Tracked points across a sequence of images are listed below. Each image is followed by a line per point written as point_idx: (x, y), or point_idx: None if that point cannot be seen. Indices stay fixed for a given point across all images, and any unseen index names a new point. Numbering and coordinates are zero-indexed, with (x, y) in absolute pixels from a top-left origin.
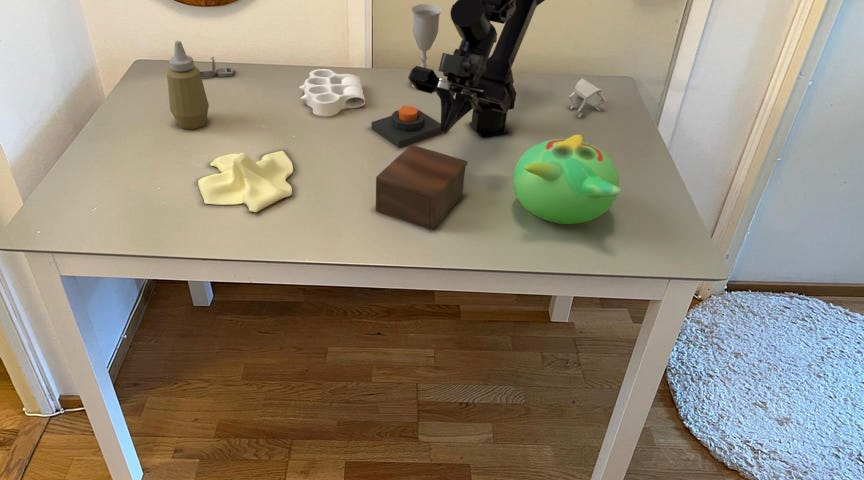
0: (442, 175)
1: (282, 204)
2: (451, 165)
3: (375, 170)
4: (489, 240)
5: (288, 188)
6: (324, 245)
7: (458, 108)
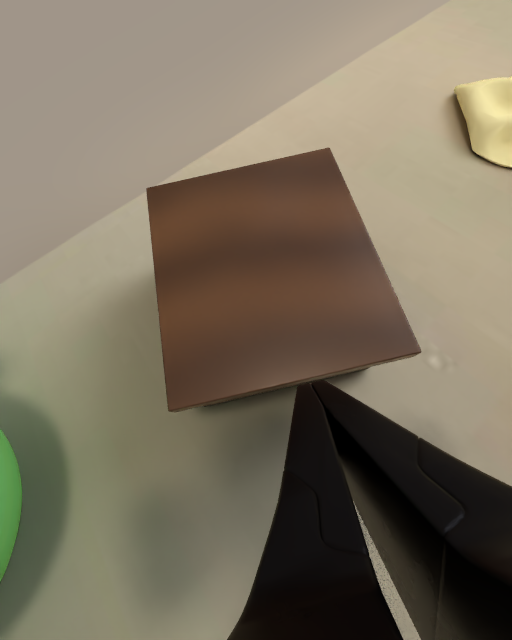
0: (188, 270)
1: (454, 132)
2: (199, 338)
3: (461, 338)
4: (69, 307)
5: (500, 159)
6: (300, 120)
7: (275, 541)
